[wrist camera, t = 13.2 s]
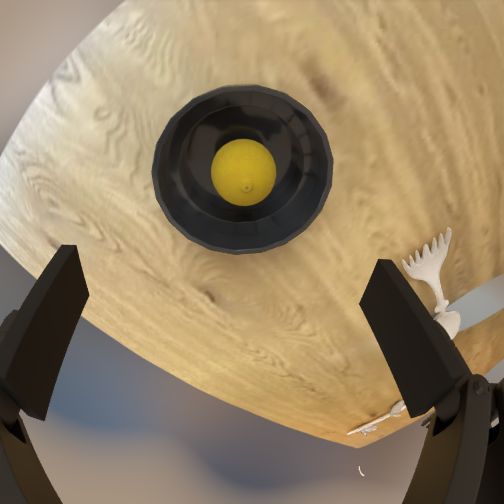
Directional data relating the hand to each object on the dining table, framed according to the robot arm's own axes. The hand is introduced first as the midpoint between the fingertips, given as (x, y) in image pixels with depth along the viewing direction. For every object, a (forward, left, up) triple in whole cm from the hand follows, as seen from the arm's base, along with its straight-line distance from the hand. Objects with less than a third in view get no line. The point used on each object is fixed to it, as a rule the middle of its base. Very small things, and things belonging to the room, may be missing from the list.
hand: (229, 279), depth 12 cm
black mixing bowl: (+1, +1, -19) cm, 19 cm away
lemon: (+1, +1, -19) cm, 19 cm away
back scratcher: (+39, +13, -19) cm, 45 cm away
